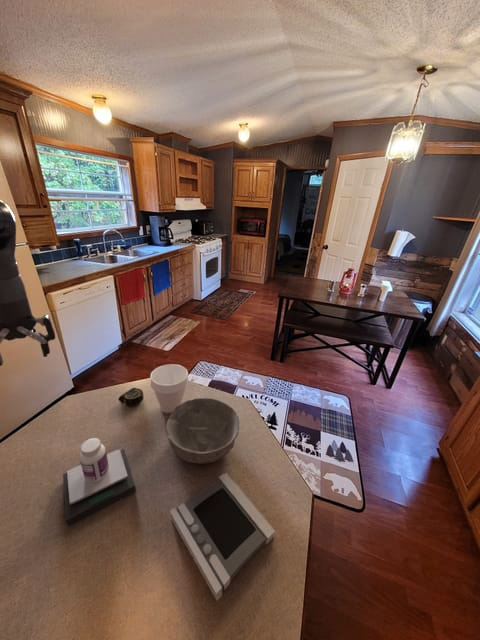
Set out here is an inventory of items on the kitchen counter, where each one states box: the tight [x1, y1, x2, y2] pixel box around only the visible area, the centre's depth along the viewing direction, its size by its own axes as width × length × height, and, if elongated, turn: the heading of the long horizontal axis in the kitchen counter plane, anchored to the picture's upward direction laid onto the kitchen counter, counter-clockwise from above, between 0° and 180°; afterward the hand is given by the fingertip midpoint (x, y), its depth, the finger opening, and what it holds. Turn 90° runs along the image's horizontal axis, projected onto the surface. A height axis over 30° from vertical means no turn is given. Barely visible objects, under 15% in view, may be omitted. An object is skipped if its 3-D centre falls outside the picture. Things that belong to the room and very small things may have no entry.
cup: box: [149, 363, 189, 414], centre depth 87 cm, size 12×12×14 cm
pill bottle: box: [79, 437, 109, 483], centre depth 60 cm, size 5×5×10 cm
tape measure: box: [117, 387, 144, 407], centre depth 90 cm, size 7×7×4 cm
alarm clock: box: [169, 472, 276, 602], centre depth 56 cm, size 17×5×16 cm
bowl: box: [165, 397, 240, 464], centre depth 73 cm, size 21×21×10 cm
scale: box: [62, 448, 137, 528], centre depth 62 cm, size 14×12×4 cm
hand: (23, 359), depth 62 cm, fingers open, 8 cm apart
